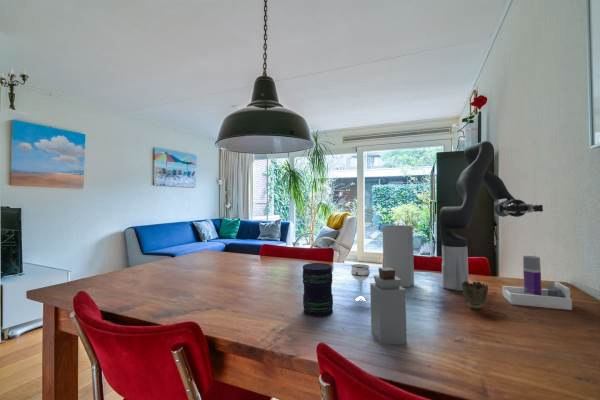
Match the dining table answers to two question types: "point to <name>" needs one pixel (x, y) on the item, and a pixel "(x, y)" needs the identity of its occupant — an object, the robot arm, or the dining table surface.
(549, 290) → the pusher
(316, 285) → the storage jar
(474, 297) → the cup
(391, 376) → the dining table surface
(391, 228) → the grey rectangular pillar
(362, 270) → the wineglass
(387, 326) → the perfume bottle
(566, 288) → the white drawer
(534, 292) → the container
